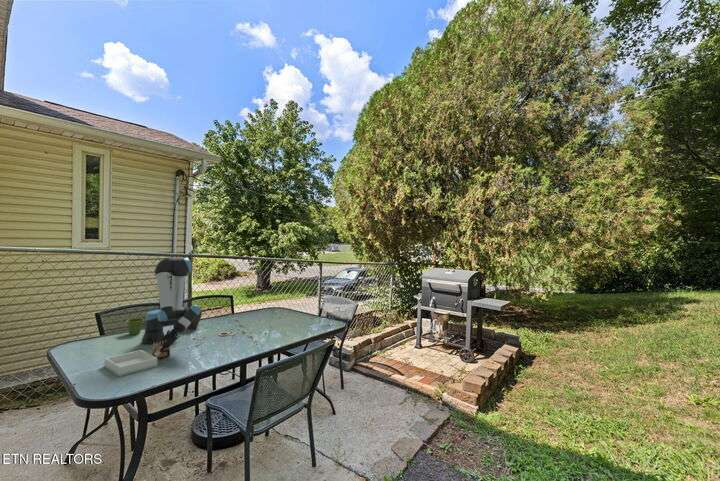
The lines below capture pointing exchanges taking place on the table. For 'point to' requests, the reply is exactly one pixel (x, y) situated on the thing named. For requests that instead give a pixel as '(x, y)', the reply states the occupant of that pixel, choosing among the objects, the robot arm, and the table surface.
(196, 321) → the plant pot
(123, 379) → the table surface
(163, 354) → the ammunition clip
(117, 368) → the box
